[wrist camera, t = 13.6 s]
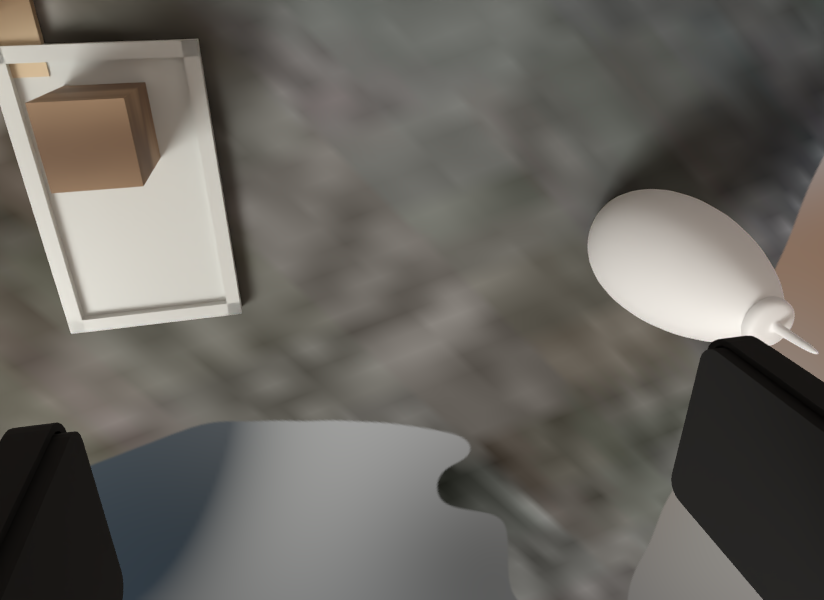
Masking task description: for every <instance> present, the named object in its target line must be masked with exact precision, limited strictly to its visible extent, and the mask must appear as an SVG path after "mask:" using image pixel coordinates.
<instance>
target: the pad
mask: <svg viewBox="0 0 824 600" xmlns="http://www.w3.org/2000/svg"><path fill="white" fill-rule="evenodd" d="M41 44H44V40H43V36H42V32H41V29H40V25H39V21H38V17H37V14H36V10H35V6H34V3H33V0H0V46H14V45H41ZM9 67H10V70H11V74H12V77H13V78H24V77H47V76H50V74H49V70H48V67H47V63H46V62H41V63H16V64H9Z"/></svg>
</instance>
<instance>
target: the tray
mask: <svg viewBox="0 0 824 600" xmlns="http://www.w3.org/2000/svg"><path fill="white" fill-rule="evenodd" d="M41 62H46V63H47V67H48V70H49V74H50V76H47V77H24V78H13V77H12V74H11V70H10V67H9V64H16V63H41ZM138 82H145V83H146V88H147V93H148V98H149V103H150V108H151V112H152V117H153V122H154V127H155V132H156V137H157V142H158V147H159V152H160V156H161V158H160V160H159V161H158V163H157V165H156V166H155V168H154V170H153V171H152V173H151V175H150V176H149V178H148V180H147V181H146V183H145V185H144V186H141V187H129V188H116V189H103V190H90V191H77V192H64V193H51V191H50V187H49V184H48V180H47V177H46V173H45V170H44V167H43V163H42V160H41V156H40V153H39V150H38V146H37V143H36V139H35V136H34V132H33V129H32V126H31V122H30V119H29V115H28V112H27V108H26V105H25V103H26V102H29V101H31V100H33V99H35V98H37V97H40V96H42V95H44V94H46V93H49V92H51V91H53V90H55V89H58V88H60V87H62V86H73V85H95V84H116V83H138ZM0 106H1V109H2V113H3V116H4V119H5V122H6V126H7V129H8V132H9V135H10V138H11V142H12V145H13V148H14V151H15V155H16V158H17V161H18V164H19V167H20V171H21V174H22V177H23V180H24V184H25V187H26V190H27V193H28V196H29V200H30V203H31V206H32V209H33V213H34V216H35V219H36V222H37V225H38V229H39V232H40V235H41V238H42V242H43V245H44V248H45V251H46V254H47V258H48V261H49V264H50V267H51V271H52V274H53V277H54V280H55V283H56V287H57V290H58V293H59V296H60V300H61V303H62V306H63V309H64V312H65V316H66V319H67V322H68V325H69V329H70V332H71V334H74V333H82V332H91V331H99V330H108V329H116V328H124V327H133V326H141V325H150V324H158V323H166V322H175V321H183V320H192V319H200V318H209V317H217V316H225V315H234V314H242V303H241V297H240V291H239V285H238V279H237V272H236V266H235V260H234V254H233V248H232V242H231V236H230V229H229V223H228V217H227V211H226V205H225V199H224V193H223V186H222V180H221V174H220V168H219V162H218V156H217V150H216V143H215V137H214V131H213V125H212V119H211V113H210V107H209V100H208V94H207V88H206V82H205V76H204V70H203V64H202V57H201V51H200V45H199V39H171V40H142V41H113V42H83V43H54V44H41V45H14V46H0Z"/></svg>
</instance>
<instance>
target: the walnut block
mask: <svg viewBox="0 0 824 600" xmlns="http://www.w3.org/2000/svg"><path fill="white" fill-rule="evenodd" d="M25 105H26V108H27V112H28V115H29V119H30V122H31V126H32V129H33V132H34V136H35V139H36V143H37V146H38V150H39V153H40V156H41V160H42V163H43V167H44V170H45V173H46V177H47V180H48V184H49V187H50V191H51V193H64V192H77V191H90V190H103V189H116V188H129V187H141V186H144V185H145V183H146V181H147V180H148V178H149V176H150V175H151V173H152V171H153V170H154V168H155V166H156V165H157V163H158V161H159V160H160V158H161V156H160V152H159V147H158V142H157V137H156V132H155V127H154V122H153V117H152V112H151V108H150V103H149V98H148V93H147V88H146V83H145V82H138V83H116V84H95V85H73V86H62V87H60V88H58V89H55V90H53V91H51V92H49V93H46V94H44V95H42V96H40V97H37V98H35V99H33V100H31V101H29V102H26V103H25Z"/></svg>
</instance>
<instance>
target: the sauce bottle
mask: <svg viewBox="0 0 824 600" xmlns="http://www.w3.org/2000/svg"><path fill="white" fill-rule="evenodd" d="M588 255H589V261H590V265H591V267H592V269H593V272H594V274H595V276H596V278H597V280H598V281H599V283H600V284H601V285H602V287H603V288H604V289H605V290H606V291H607V293H608V294H609V295H610V296H611V297H612V298H613V299H614V300H615V301H616V302H617V303H619V304H620V305H621V306H622V307H624V308H625V309H626V310H628V311H629V312H631V313H632V314H633V315H635V316H637V317H638V318H640V319H641V320H643V321H645V322H647V323H649V324H651V325H654V326H656V327H658V328H661V329H663V330H665V331H668V332H671V333H674V334H677V335H680V336H684V337H688V338H692V339H697V340H702V341H708V342H713V341H715V340H717V339H723V338H731V337H739V336H754V337H756V338H758V339H760V340H761V341H763V342H764V343H766V344H767V345H769V346H770V345H773V344H775V343H777V342H778V341H780V340H781V339H782V338H785V339H786V340H788V341H790V342H792V343H794V344H795V345H797V346H799V347H800V348H802V349H804V350H806V351H808V352H811V353H813V354H818V351H817V350H816V349H815V348H814V347H813V346H812V345H811V344H809V343H808V342H806V341H805V340H804V339H802V338H801V337H800V336H798V335H797V334H795V333H794V332H792V331H791V330H790V328H791V327H792V324H793V322H794V318H795V313H794V309H793V307H792V306H791V305H790V304H789V303H788V302H787V301H786V300H784V294H783V290H782V286H781V283H780V280H779V278H778V276H777V274H776V272H775V270H774V268H773V266H772V265H771V263H770V261H769V260H768V258H767V256H766V255H765V253H764V252H763V251H762V249H761V248H760V247H759V245H758V244H757V243H756V242H755V241H754V239H753V238H752V237H751V236H750V235H749V234H748V233H747V232H746V231H745V230H744V229H742V228H741V227H740V226H739V225H738V224H737V223H736V222H735V221H734V220H732V219H731V218H730V217H728V216H727V215H726V214H724V213H723V212H721V211H719V210H718V209H716V208H714V207H712V206H710V205H709V204H707V203H705V202H703V201H701V200H699V199H697V198H694V197H691V196H688V195H685V194H681V193H678V192H674V191H670V190H660V189H643V190H636V191H631V192H628V193H625V194H622V195H619V196H617V197H616V198H614V199H612V200H611V201H609V202H608V203H607V204H606V205H605V206H604V207H603V208H602V209H601V210H600V211H599V213H598V214H597V216H596V217H595V219H594V221H593V223H592V225H591V228H590V231H589V235H588Z"/></svg>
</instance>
